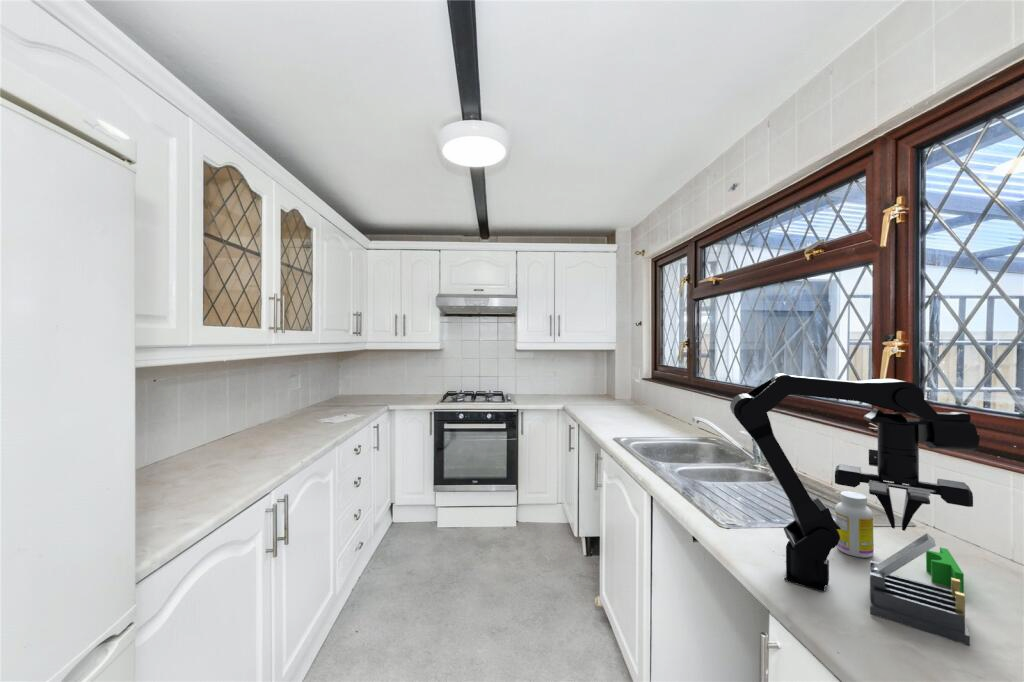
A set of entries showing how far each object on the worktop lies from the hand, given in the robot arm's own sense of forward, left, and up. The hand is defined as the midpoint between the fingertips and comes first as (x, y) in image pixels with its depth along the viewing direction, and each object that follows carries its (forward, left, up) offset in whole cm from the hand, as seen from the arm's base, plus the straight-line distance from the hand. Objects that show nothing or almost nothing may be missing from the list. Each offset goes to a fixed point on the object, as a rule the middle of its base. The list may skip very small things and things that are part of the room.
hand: (898, 528), depth 80 cm
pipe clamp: (+7, +12, -13) cm, 19 cm away
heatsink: (+2, -6, -12) cm, 14 cm away
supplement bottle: (-7, +15, -13) cm, 21 cm away
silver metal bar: (+1, -6, -4) cm, 7 cm away
